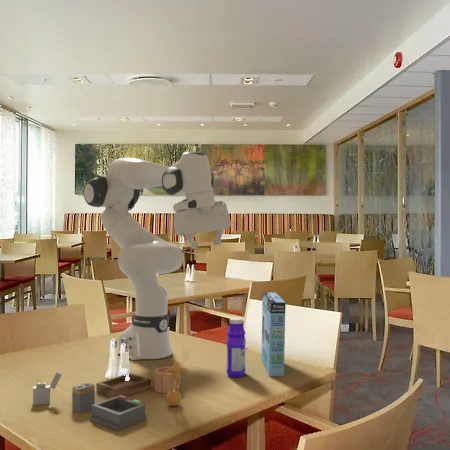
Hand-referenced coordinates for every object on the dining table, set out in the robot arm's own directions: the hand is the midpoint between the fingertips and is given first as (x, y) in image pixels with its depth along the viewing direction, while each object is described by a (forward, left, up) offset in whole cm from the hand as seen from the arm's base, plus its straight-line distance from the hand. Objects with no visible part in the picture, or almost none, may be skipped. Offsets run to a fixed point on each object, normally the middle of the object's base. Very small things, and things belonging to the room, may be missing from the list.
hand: (206, 246), depth 164 cm
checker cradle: (+8, -43, -39) cm, 58 cm away
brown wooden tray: (-7, -28, -39) cm, 48 cm away
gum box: (+14, +17, -40) cm, 45 cm away
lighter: (-15, -47, -39) cm, 63 cm away
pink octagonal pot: (+2, -20, -39) cm, 44 cm away
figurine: (+13, -28, -39) cm, 50 cm away
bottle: (+9, +3, -39) cm, 41 cm away
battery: (-4, -44, -39) cm, 59 cm away
